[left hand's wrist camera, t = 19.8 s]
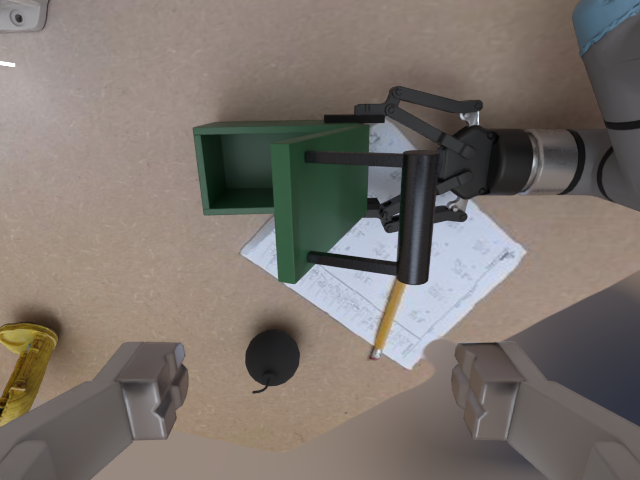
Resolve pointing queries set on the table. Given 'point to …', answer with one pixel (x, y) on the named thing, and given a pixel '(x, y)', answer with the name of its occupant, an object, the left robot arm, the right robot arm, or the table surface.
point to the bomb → (272, 358)
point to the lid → (347, 203)
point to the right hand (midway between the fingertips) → (324, 162)
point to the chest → (244, 162)
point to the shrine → (25, 365)
